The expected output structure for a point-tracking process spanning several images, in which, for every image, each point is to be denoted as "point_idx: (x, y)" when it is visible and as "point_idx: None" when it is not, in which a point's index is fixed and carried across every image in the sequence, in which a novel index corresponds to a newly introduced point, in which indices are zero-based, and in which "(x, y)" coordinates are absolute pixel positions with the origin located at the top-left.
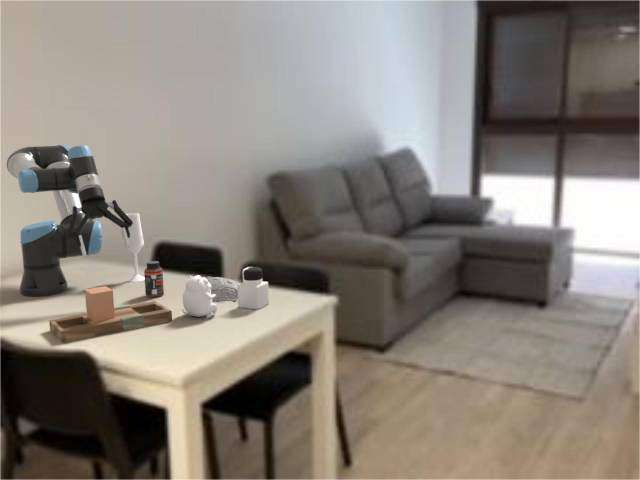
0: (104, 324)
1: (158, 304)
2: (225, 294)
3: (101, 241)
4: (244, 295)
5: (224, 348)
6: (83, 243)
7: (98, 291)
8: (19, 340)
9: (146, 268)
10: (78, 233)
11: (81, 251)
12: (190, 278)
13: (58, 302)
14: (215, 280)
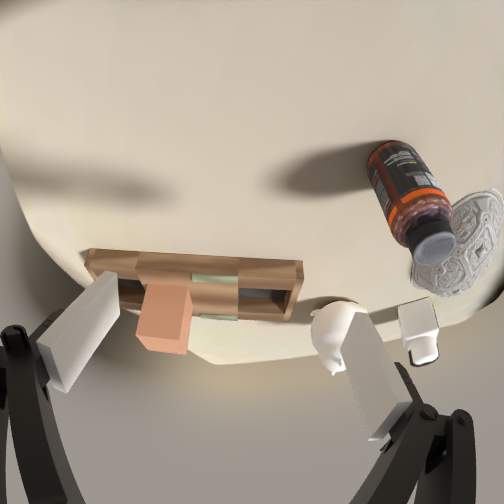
0: None
1: (294, 295)
2: (427, 288)
3: None
4: (401, 329)
5: (274, 357)
6: (92, 353)
7: (160, 348)
8: (58, 258)
9: (408, 226)
10: (46, 396)
11: (87, 289)
12: (333, 366)
13: (94, 39)
14: (459, 278)
